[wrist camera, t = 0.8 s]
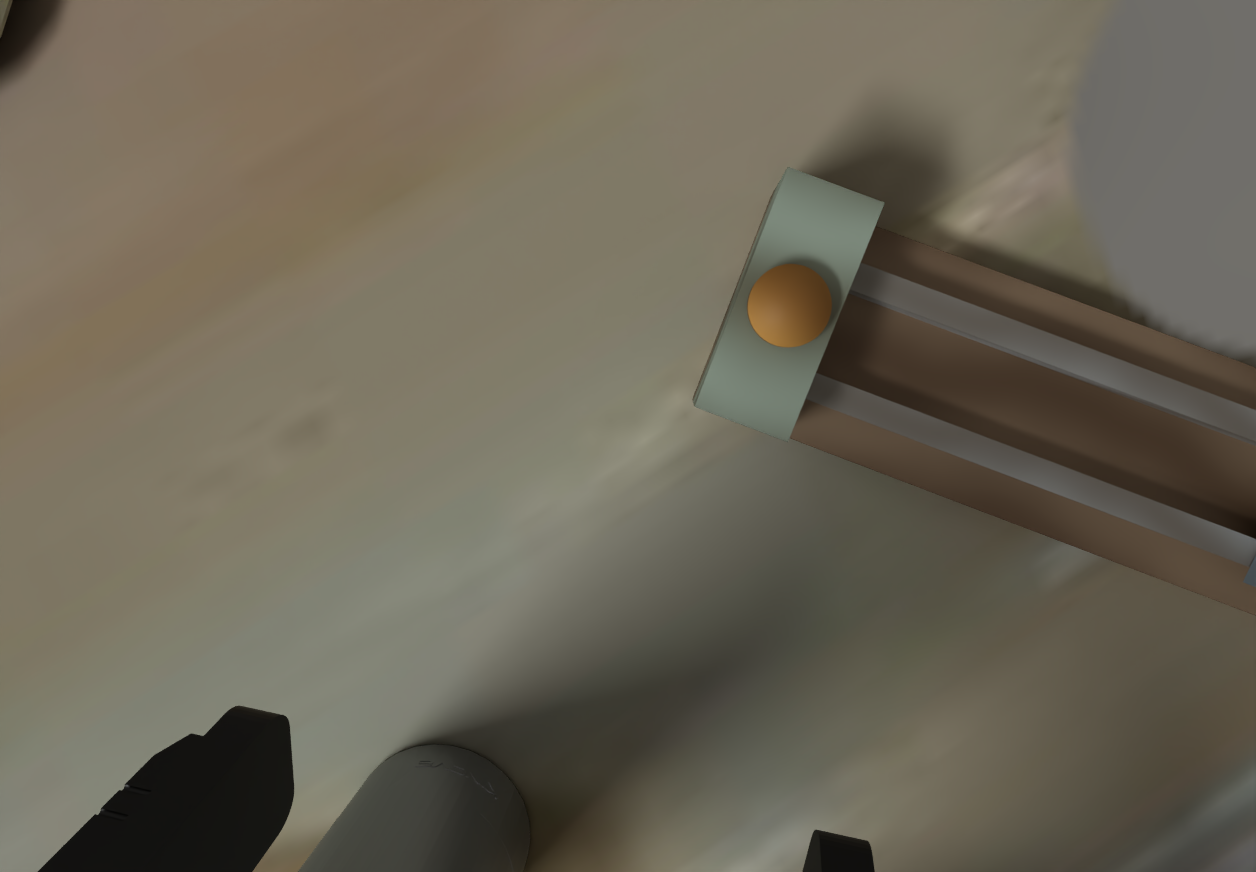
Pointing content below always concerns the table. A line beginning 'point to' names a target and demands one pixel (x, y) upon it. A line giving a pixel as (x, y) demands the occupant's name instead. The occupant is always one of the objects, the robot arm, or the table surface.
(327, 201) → the table surface
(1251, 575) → the carriage
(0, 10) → the handbell
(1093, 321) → the rail track
